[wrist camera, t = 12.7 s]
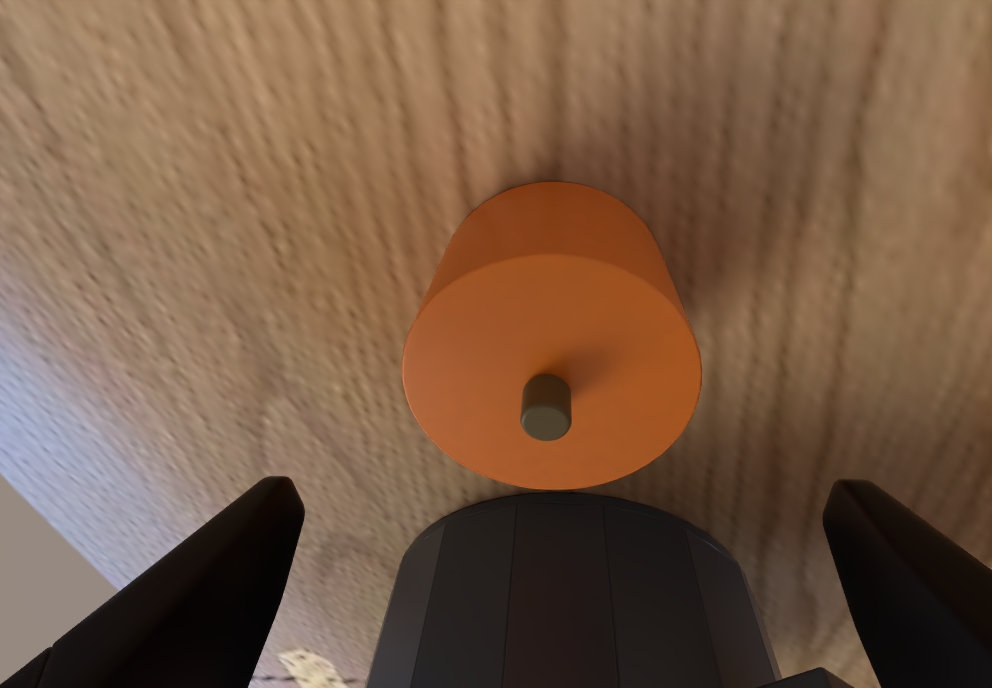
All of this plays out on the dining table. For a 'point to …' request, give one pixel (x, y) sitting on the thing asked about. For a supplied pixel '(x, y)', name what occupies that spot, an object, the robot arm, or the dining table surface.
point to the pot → (574, 603)
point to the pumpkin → (552, 342)
